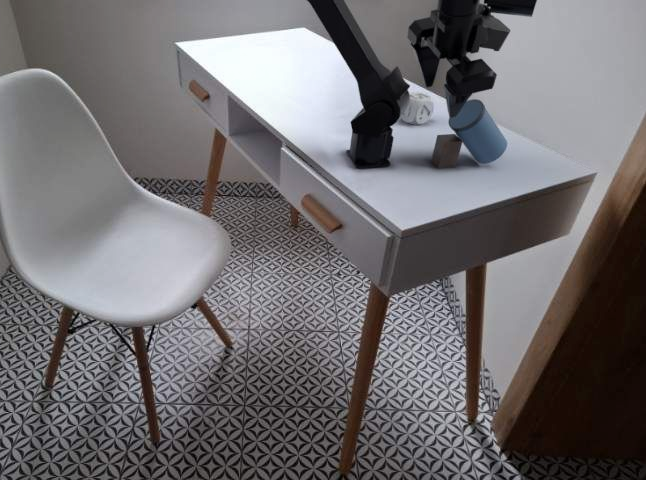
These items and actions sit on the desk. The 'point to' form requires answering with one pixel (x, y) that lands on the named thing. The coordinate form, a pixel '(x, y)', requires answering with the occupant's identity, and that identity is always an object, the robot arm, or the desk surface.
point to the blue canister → (478, 132)
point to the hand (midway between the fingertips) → (440, 101)
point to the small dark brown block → (446, 150)
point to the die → (418, 109)
